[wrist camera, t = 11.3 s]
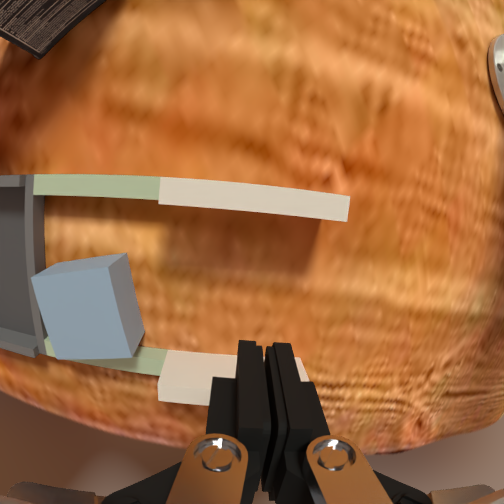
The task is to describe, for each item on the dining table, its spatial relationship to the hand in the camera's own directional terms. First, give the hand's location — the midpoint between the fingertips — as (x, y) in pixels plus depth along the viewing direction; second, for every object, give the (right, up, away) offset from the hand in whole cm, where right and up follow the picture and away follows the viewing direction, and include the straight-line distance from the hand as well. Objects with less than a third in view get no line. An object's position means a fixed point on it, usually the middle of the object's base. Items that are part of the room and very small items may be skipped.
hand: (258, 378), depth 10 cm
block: (-11, +1, +11) cm, 16 cm away
